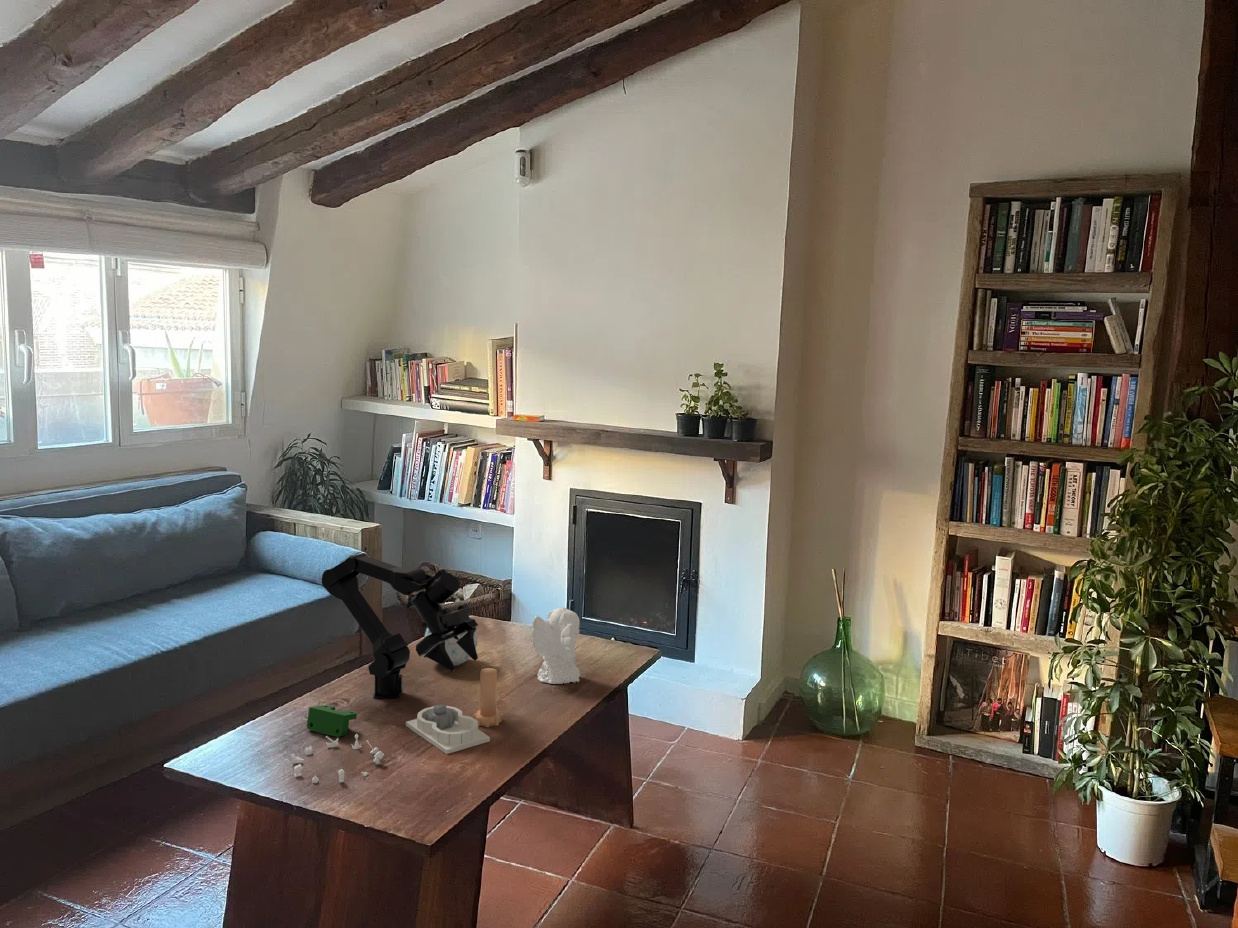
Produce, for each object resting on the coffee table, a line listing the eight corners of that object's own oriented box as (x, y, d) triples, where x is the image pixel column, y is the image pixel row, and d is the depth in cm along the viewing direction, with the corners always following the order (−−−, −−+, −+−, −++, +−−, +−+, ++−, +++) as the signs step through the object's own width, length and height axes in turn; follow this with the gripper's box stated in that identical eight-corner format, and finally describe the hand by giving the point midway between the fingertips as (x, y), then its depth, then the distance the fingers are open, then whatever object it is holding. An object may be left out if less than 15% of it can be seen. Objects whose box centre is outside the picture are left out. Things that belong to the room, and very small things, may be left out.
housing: (405, 725, 228) (405, 703, 227) (447, 714, 235) (448, 693, 234) (446, 754, 213) (446, 730, 212) (489, 741, 221) (490, 718, 220)
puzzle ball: (451, 651, 281) (451, 603, 279) (488, 663, 272) (488, 613, 270) (412, 665, 268) (412, 614, 266) (449, 677, 260) (450, 625, 258)
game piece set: (397, 751, 214) (397, 735, 214) (354, 792, 195) (354, 774, 194) (320, 740, 219) (320, 725, 218) (270, 779, 199) (270, 762, 199)
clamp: (347, 746, 224) (364, 716, 224) (332, 750, 219) (349, 719, 219) (316, 720, 229) (332, 690, 228) (301, 722, 224) (317, 692, 223)
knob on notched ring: (473, 727, 228) (474, 675, 226) (474, 715, 235) (475, 665, 233) (501, 726, 229) (502, 675, 227) (501, 715, 236) (502, 665, 234)
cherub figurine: (591, 676, 264) (594, 607, 262) (572, 691, 253) (574, 619, 250) (549, 668, 269) (551, 600, 267) (529, 683, 258) (530, 612, 255)
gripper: (427, 604, 225) (462, 659, 222) (474, 587, 242) (507, 638, 238) (400, 628, 230) (434, 682, 227) (447, 610, 246) (480, 660, 243)
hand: (465, 664), depth 234 cm, fingers open, 9 cm apart
